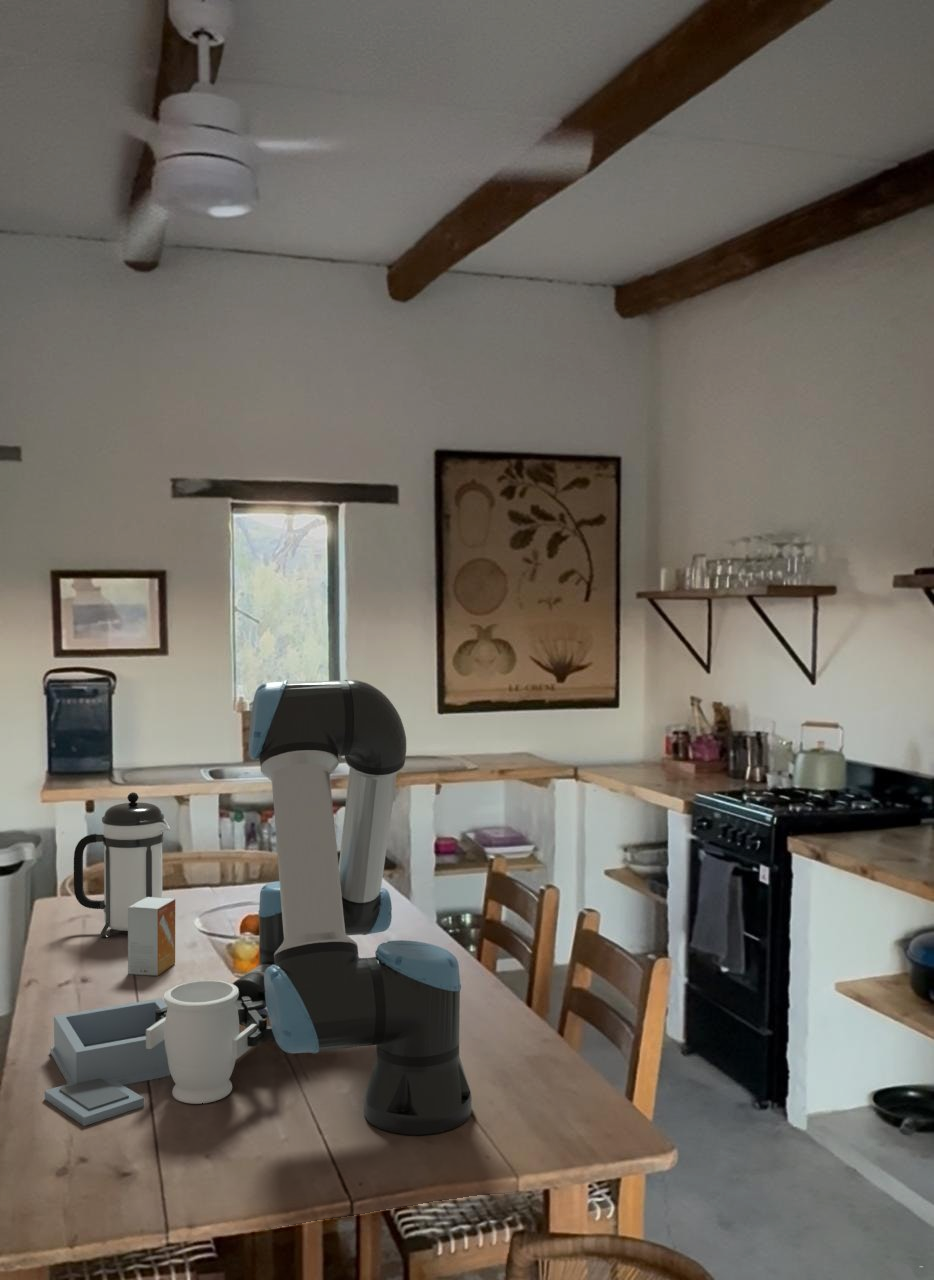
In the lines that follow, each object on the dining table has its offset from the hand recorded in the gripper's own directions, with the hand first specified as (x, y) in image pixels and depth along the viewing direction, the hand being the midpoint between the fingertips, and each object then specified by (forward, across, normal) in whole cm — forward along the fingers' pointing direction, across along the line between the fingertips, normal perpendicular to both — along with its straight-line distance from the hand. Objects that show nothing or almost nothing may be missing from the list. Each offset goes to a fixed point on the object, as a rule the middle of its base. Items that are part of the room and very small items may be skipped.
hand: (190, 1044), depth 167 cm
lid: (+4, +13, -8) cm, 16 cm away
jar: (-4, 0, -9) cm, 9 cm away
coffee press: (-73, +55, -9) cm, 92 cm away
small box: (-52, +37, -9) cm, 64 cm away
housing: (-10, +18, -8) cm, 22 cm away
